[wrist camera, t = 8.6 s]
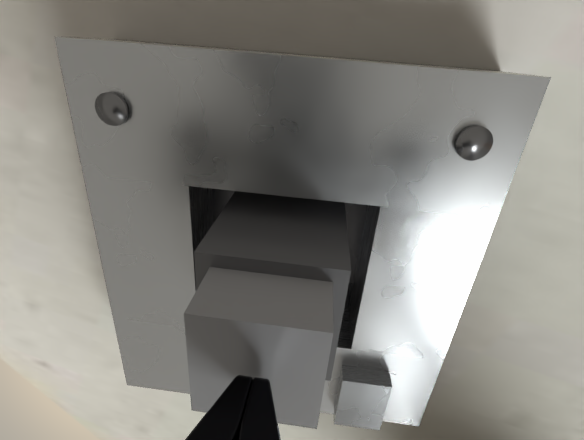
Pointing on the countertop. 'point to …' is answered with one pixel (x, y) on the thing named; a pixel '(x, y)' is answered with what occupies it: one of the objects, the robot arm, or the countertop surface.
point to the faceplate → (297, 193)
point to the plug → (269, 301)
